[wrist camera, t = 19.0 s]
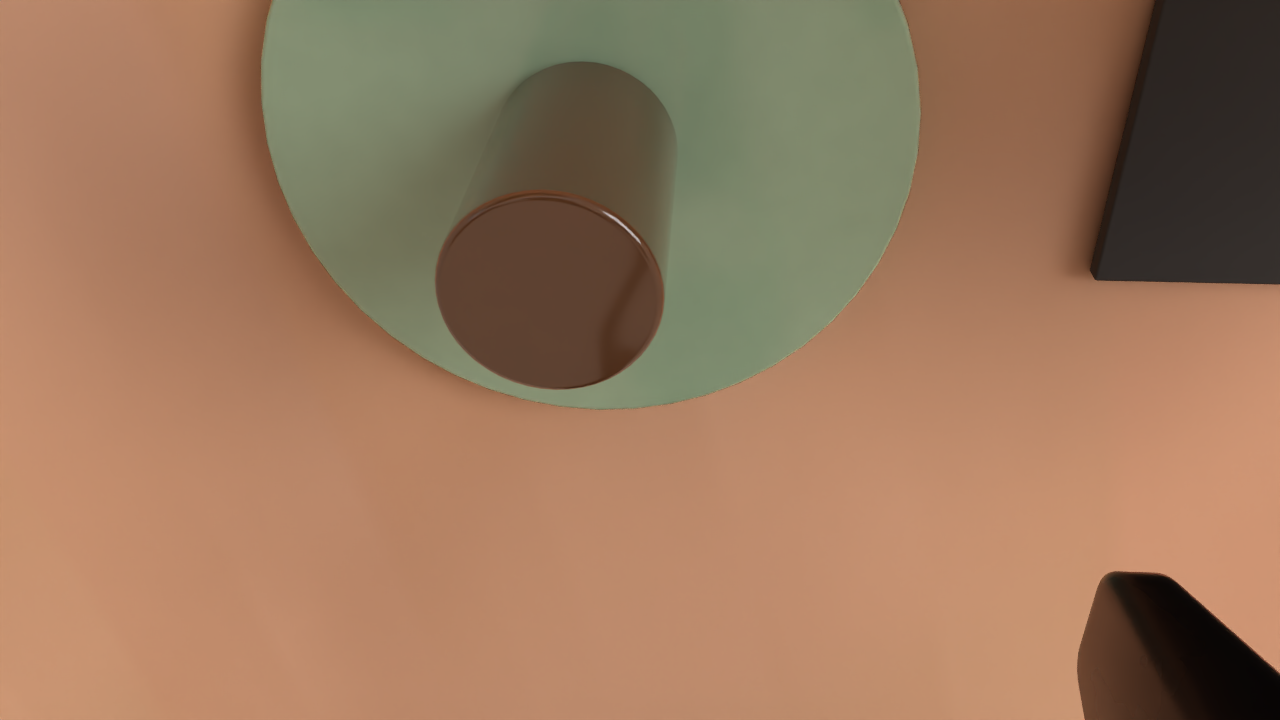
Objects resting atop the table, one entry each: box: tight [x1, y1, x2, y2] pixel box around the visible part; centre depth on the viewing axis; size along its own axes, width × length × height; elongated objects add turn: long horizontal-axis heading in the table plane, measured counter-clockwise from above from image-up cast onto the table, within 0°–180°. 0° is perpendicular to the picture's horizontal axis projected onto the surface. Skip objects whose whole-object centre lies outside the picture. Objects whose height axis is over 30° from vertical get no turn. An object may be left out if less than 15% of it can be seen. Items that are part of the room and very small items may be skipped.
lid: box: [261, 0, 921, 410], centre depth 13 cm, size 9×9×4 cm
